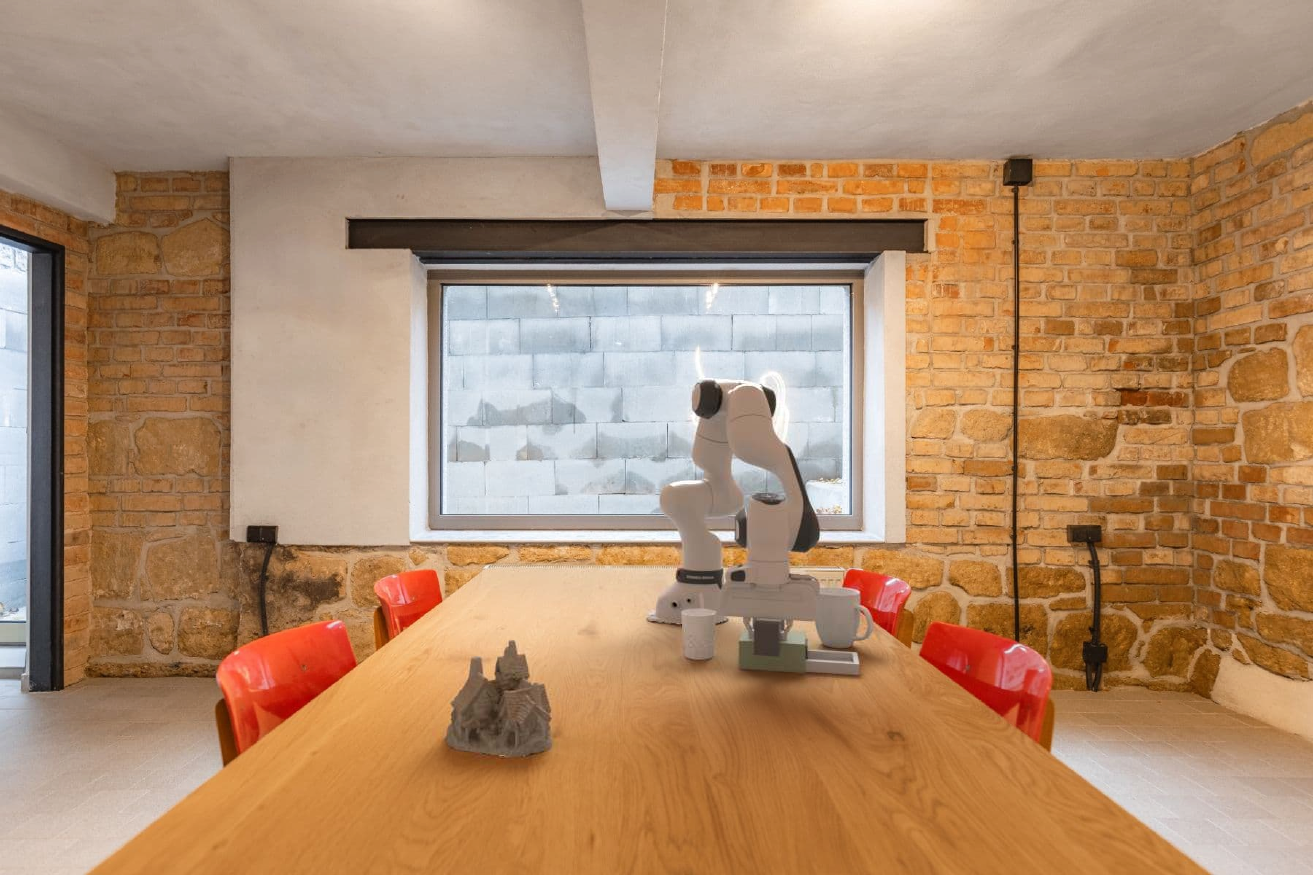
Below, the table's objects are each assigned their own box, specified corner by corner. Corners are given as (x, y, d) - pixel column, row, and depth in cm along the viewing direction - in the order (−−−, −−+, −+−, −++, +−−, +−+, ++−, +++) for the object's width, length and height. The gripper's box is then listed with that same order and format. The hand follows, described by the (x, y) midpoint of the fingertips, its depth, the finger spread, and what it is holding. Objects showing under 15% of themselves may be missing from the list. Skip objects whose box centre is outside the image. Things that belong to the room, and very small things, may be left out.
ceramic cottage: (442, 728, 116) (447, 639, 116) (539, 718, 122) (544, 634, 122) (451, 774, 101) (456, 672, 101) (560, 760, 107) (566, 664, 107)
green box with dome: (738, 668, 149) (738, 621, 149) (744, 654, 159) (743, 610, 160) (859, 676, 143) (859, 628, 143) (856, 661, 154) (856, 616, 154)
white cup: (716, 651, 162) (716, 608, 162) (715, 661, 154) (715, 616, 154) (682, 650, 163) (682, 607, 163) (680, 660, 155) (680, 615, 155)
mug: (884, 648, 164) (883, 593, 165) (860, 657, 157) (859, 599, 157) (829, 636, 175) (829, 584, 176) (804, 644, 168) (804, 590, 168)
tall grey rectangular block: (753, 654, 140) (754, 625, 140) (757, 643, 147) (757, 615, 147) (779, 656, 138) (779, 626, 138) (781, 645, 146) (781, 617, 146)
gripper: (819, 572, 144) (819, 639, 144) (721, 567, 148) (721, 632, 148) (819, 577, 138) (819, 647, 137) (717, 572, 142) (717, 640, 142)
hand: (767, 639), depth 143 cm, fingers closed on tall grey rectangular block, 5 cm apart
